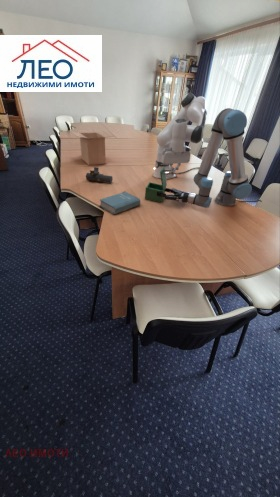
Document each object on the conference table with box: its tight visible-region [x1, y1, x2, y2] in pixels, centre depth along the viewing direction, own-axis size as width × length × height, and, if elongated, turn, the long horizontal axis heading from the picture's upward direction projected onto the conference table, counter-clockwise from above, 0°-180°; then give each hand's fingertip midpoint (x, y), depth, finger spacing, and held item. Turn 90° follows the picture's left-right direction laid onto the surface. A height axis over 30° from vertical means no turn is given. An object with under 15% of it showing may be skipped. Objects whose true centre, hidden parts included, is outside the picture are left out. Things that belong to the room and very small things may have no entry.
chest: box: [144, 181, 167, 203], centre depth 165 cm, size 13×10×9 cm
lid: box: [160, 167, 177, 191], centre depth 155 cm, size 14×10×9 cm
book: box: [99, 191, 141, 215], centre depth 152 cm, size 23×16×5 cm
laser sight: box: [85, 166, 113, 184], centre depth 186 cm, size 10×22×10 cm, turn 78°
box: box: [70, 129, 114, 166], centre depth 229 cm, size 44×36×27 cm
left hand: (174, 170), depth 150 cm, fingers closed on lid, 2 cm apart
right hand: (159, 191), depth 163 cm, fingers closed on chest, 10 cm apart
